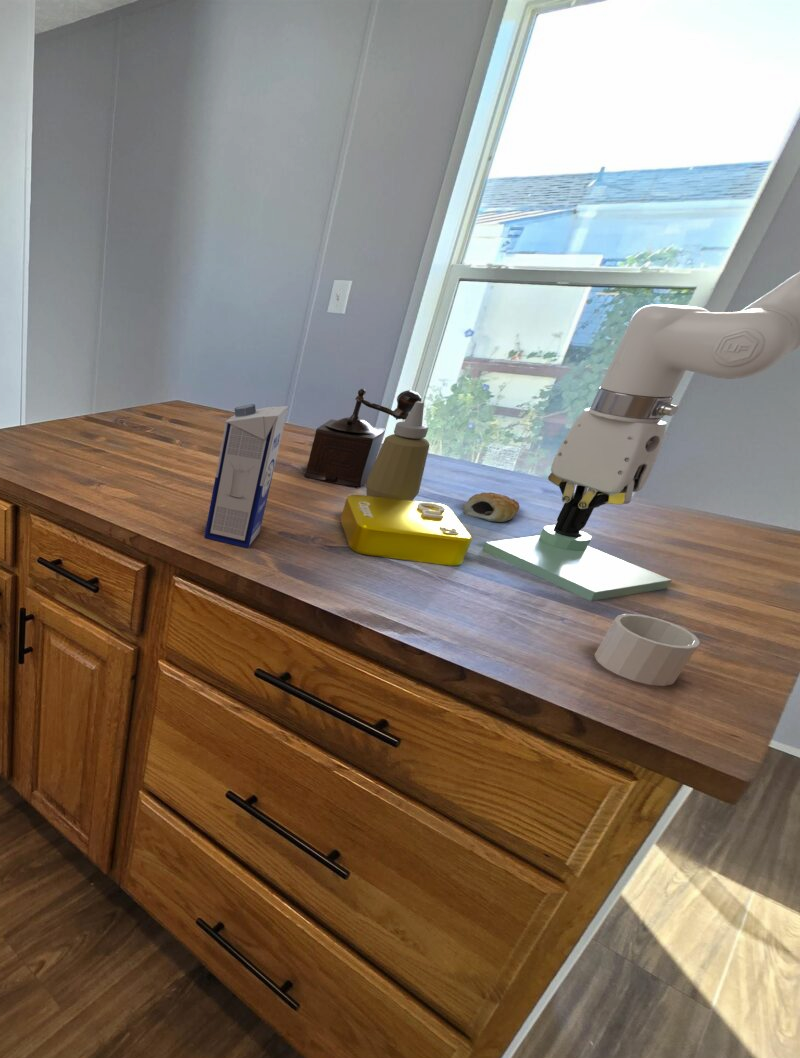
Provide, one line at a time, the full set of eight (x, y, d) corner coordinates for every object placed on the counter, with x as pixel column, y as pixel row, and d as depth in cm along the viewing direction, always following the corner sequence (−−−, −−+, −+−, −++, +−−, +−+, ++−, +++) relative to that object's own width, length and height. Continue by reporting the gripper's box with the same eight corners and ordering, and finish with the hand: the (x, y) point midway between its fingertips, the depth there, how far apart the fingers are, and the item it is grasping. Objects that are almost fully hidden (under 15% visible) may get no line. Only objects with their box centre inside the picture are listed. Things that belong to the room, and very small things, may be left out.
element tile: (338, 517, 109) (346, 489, 107) (439, 529, 105) (449, 501, 103) (350, 553, 97) (360, 523, 94) (465, 568, 93) (478, 538, 91)
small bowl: (687, 685, 69) (716, 642, 67) (641, 695, 68) (669, 652, 65) (620, 651, 75) (644, 610, 72) (576, 659, 73) (599, 618, 71)
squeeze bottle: (407, 520, 108) (445, 411, 99) (354, 508, 113) (387, 402, 104) (415, 506, 114) (452, 401, 105) (365, 495, 118) (396, 394, 109)
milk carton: (248, 548, 98) (278, 414, 88) (203, 538, 101) (227, 407, 91) (259, 533, 103) (289, 404, 93) (217, 523, 106) (241, 397, 96)
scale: (668, 588, 89) (680, 569, 87) (590, 601, 85) (601, 581, 84) (553, 540, 102) (562, 523, 101) (481, 550, 99) (489, 532, 97)
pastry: (485, 503, 116) (494, 482, 114) (527, 516, 111) (537, 495, 109) (457, 513, 112) (465, 491, 110) (499, 527, 107) (509, 505, 105)
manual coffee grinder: (301, 477, 127) (325, 381, 118) (317, 464, 134) (341, 372, 125) (389, 496, 118) (422, 394, 109) (401, 480, 126) (433, 384, 117)
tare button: (580, 543, 97) (585, 533, 96) (566, 544, 96) (570, 535, 96) (561, 535, 99) (566, 526, 99) (547, 537, 99) (552, 527, 98)
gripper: (712, 417, 83) (639, 548, 92) (592, 392, 95) (538, 509, 104) (670, 421, 81) (600, 554, 90) (553, 394, 93) (501, 513, 103)
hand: (567, 530), depth 97 cm, fingers closed
